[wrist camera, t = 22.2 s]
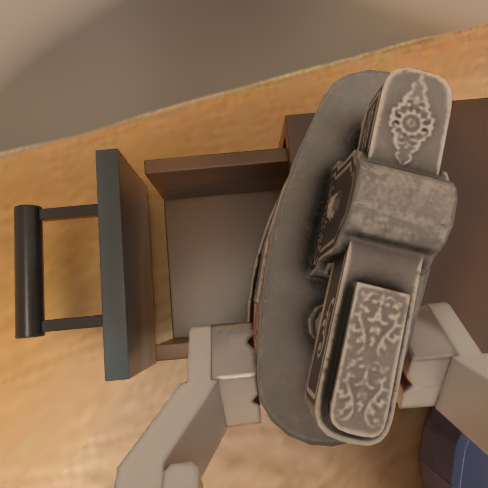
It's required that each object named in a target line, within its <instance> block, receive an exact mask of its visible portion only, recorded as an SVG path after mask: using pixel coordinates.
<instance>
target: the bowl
mask: <svg viewBox="0 0 488 488" xmlns="http://www.w3.org/2000/svg"><path fill="white" fill-rule="evenodd" d="M435 407H436V406H433V408H432V410H431V412H430V414H429V416H428V418H427V420H426V422H425V425H424V431H423V437H422V444H421V451H420V458H419V461H420V468H421V474H422V481H423V488H488V455H487V454H486V453H485V452H483V451H482V450H481V449H480V448H479V447H478V446H477V445H476V444H475V443H473V442H472V441H471V440H470V439H469V438H468V437H467V436H466V435H465V434H463V433H462V432H461V431H460V430H459V429H458V428H457V427H456V426H455V425H453V424H452V423H451V422H450V421H449V420H448V419H447V418H446V417H445V416H443V415H442V414H441V413H440V412H439V411H438V410H437V409H436V408H435Z"/></svg>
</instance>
